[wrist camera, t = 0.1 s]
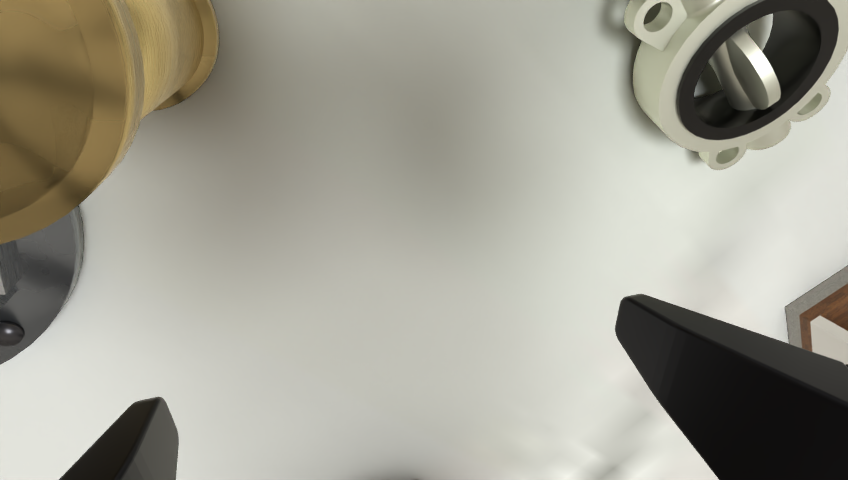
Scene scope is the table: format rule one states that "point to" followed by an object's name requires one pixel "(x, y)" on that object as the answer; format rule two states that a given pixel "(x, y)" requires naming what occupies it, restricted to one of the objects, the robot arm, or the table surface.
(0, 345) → the flange
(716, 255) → the table surface
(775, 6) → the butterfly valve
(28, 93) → the gold flared cylinder
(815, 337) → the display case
